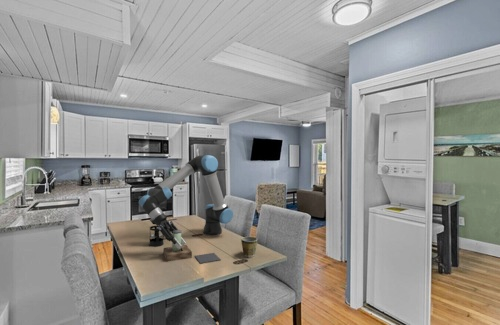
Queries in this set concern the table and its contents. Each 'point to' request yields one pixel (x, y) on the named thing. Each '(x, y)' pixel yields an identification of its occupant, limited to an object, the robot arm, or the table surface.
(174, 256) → the socket block
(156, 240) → the french press
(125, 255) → the table surface
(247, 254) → the ceramic cup
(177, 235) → the plug
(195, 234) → the table surface
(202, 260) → the mat
